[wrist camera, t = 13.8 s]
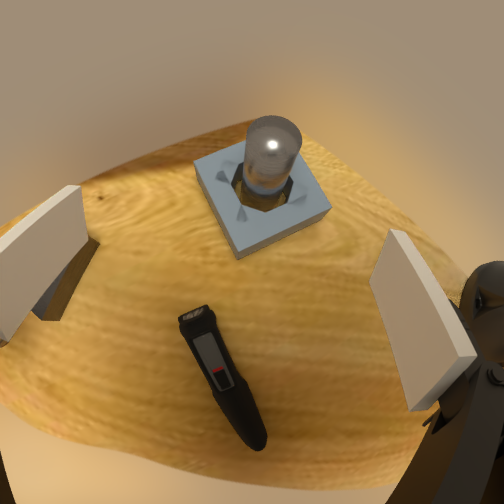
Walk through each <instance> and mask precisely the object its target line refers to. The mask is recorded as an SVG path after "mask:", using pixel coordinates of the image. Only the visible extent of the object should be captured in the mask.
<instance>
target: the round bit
mask: <svg viewBox="0 0 504 504" xmlns="http://www.w3.org/2000/svg"><path fill="white" fill-rule="evenodd" d="M301 145H302V136H301V133H300V131H299V129H298V128H297V127H296V125H295V124H293V123H292V122H291V121H289V120H288V119H285V118H283V117H279V116H272V115H271V116H264V117H260V118H258V119H256V120H255V121H253V122H252V123H251V125H250V126H249V128H248V130H247V135H246V145H245V155H244V164H243V174H242V185H241V195H240V201H241V205H244V206H247V207H250V208H253V209H256V210H259V211H262V212H265V213H266V212H268V211H270V210H273V209H275V207H276V205H277V203H278V201H279V198H280V196H281V193H282V191H283V189H284V186H285V184H286V181H287V179H288V177H289V174H290V172H291V170H292V167H293V165H294V162H295V160H296V158H297V155H298V153H299V150H300V148H301Z"/></svg>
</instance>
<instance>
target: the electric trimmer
mask: <svg viewBox="0 0 504 504" xmlns="http://www.w3.org/2000/svg"><path fill="white" fill-rule="evenodd" d="M178 321H179V323H180V325H179V328H180V332H181V334H182V335H183V337H184V338H185V340H186V342H187V344H188V345H189V347H190V349H191V351H192V353H193V355H194V357H195V359H196V360H197V362H198V364H199V366H200V368H201V370H202V372H203V374H204V375H205V377H206V379H207V381H208V383H209V385H210V388H211V390H212V393H213V396H214V398H215V400H216V401H217V403H218V405H219V406H220V408H221V409H222V411H223V413H224V414H225V416H226V417H227V419H228V420H229V422H230V423H231V424H232V426H233V427H234V429H235V430H236V432H237V433H238V435H239V436H240V437H241V439H242V440H243V441H244V442H245V444H246V445H247V446H249V447H250V448H251V449H253V450H255V451H261V450H263V449H264V448H265V446H266V442H267V433H266V429H265V427H264V424H263V422H262V419H261V417H260V414H259V412H258V409H257V407H256V404H255V401H254V399H253V396H252V394H251V391H250V389H249V387H248V384H247V382H246V381H245V380H244V379H243V378H242V377H241V376H240V374H239V373H238V371H237V370H236V368H235V366H234V363H233V361H232V359H231V357H230V355H229V353H228V351H227V349H226V347H225V344H224V342H223V340H222V337H221V335H220V333H219V330H218V328H217V324H216V316H215V314H214V312H213V311H212V310H210V309H209V307H208V305H203V306H201V307H199V308H196V309H194V310H192V311H190V312H187V313H185V314H183V315H181V316H179V317H178Z"/></svg>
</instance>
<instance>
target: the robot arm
mask: <svg viewBox="0 0 504 504" xmlns="http://www.w3.org/2000/svg"><path fill="white" fill-rule="evenodd" d="M87 241H88V235H87V228H86V222H85V215H84V208H83V200H82V191H81V186H74V185H67V186H66V187H65V188H63V189H62V190H60V191H59V192H58V193H56V194H55V195H53V196H52V197H51V198H49V199H48V200H47V201H45V202H44V203H43V204H41V205H40V206H39V207H37V208H36V209H35V210H33V211H32V212H31V213H30V214H28V215H27V216H26V217H25V218H23V219H22V220H21V221H20V222H19V223H17V224H16V225H15V226H14V227H13V228H11V229H10V230H9V231H8V232H7V233H6V234H4V235H3V236H2V237H1V238H0V338H1V339H3V340H5V341H7V342H9V341H10V339H11V338H12V336H13V335H14V333H15V332H16V330H17V329H18V327H19V326H20V325H21V323H22V322H23V320H24V319H25V318H26V316H27V315H28V313H29V312H30V311H31V309H32V308H33V307H34V305H35V304H36V303H37V301H38V300H39V299H40V297H41V296H42V295H43V294H44V292H45V291H46V290H47V288H48V287H49V286H50V285H51V283H52V282H53V281H54V280H55V279H56V277H57V276H58V275H59V274H60V272H61V271H62V270H63V269H64V268H65V266H66V265H67V264H68V263H69V262H70V261H71V259H72V258H73V257H74V256H75V255H76V254H77V253H78V251H79V250H80V249H81V248H82V247H83V246H84V245H85V244H86V242H87ZM369 283H370V286H371V289H372V292H373V294H374V297H375V300H376V303H377V306H378V309H379V311H380V314H381V317H382V320H383V323H384V326H385V329H386V332H387V335H388V339H389V342H390V345H391V348H392V351H393V355H394V358H395V362H396V365H397V368H398V372H399V375H400V379H401V383H402V386H403V390H404V394H405V398H406V402H407V406H408V410H409V412H411V411H421V410H428V409H429V408H430V407H431V406H432V405H433V404H434V403H435V402H436V401H437V400H438V401H439V404H440V408H439V409H438V410H437V411H436V412H435V413H434V414H433V415H432V416H430V417H429V418H428V419H427V420H426V421H425V422H424V423H423V425H422V426H424V427H425V426H426V425H427V424H428V423H429V422H431V423H430V425H429V427H428V430H427V432H426V434H425V436H424V438H423V440H422V442H421V444H420V446H419V448H418V450H417V452H416V453H415V455H414V457H413V459H412V461H411V463H410V464H409V466H408V468H407V470H406V471H405V473H404V475H403V477H402V478H401V480H400V482H399V483H398V485H397V486H396V488H395V490H394V491H393V493H392V494H391V496H390V497H389V499H388V501H387V502H386V503H385V504H504V369H503V367H504V261H493V262H489V263H486V264H483V265H481V266H479V267H478V268H477V269H476V270H475V271H474V272H473V273H472V274H471V276H470V277H469V279H468V281H467V283H466V285H465V288H464V291H463V294H462V299H461V304H460V309H459V308H458V307H457V306H456V305H455V304H454V303H453V302H452V301H451V300H450V299H448V298H447V296H446V295H445V293H444V291H443V290H442V288H441V286H440V285H439V283H438V281H437V280H436V278H435V276H434V275H433V273H432V272H431V270H430V268H429V267H428V265H427V264H426V262H425V261H424V259H423V257H422V256H421V254H420V253H419V251H418V250H417V248H416V247H415V245H414V244H413V242H412V241H411V240H410V238H409V237H408V235H407V234H406V232H404V231H399V230H394V229H389V232H388V235H387V237H386V240H385V243H384V245H383V248H382V250H381V253H380V255H379V258H378V260H377V263H376V265H375V268H374V270H373V273H372V275H371V277H370V280H369ZM0 504H16V503H15V500H14V497H13V494H12V491H11V488H10V485H9V482H8V478H7V475H6V471H5V468H4V464H3V460H2V456H1V452H0Z"/></svg>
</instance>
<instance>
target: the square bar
mask: <svg viewBox="0 0 504 504" xmlns="http://www.w3.org/2000/svg"><path fill="white" fill-rule="evenodd" d="M99 245H100V244H99V243H98V242H97V241H95V240H94V239H92V238H91V237H89V236H88V241H87V242H86V244H85V245H84V246H83V247H82V248H81V249H80V250H79V251H78V253H77V254H76V255H75V256H74V257H73V258H72V259H71V261H70V262H69V263H68V264H67V265H66V266H65V268H64V269H63V270H62V271H61V272H60V274H59V275H58V276H57V277H56V279H55V280H54V281H53V282H52V283H51V285H50V286H49V287H48V288H47V290H46V291H45V292H44V294H43V295H42V296H41V297H40V299H39V300H38V301H37V303H36V304H35V305H34V307H33V308H32V309H31V311H32V312H33V313H34V314H35V315H36V316H37V317H38V318H39V319H41V320H44V321H60V319H61V317H62V315H63V312H64V310H65V308H66V306H67V304H68V302H69V300H70V298H71V296H72V294H73V292H74V290H75V288H76V286H77V284H78V283H79V281H80V279H81V277H82V275H83V273H84V271H85V270H86V268H87V266H88V264H89V262H90V261H91V259H92V257H93V255H94V253H95V252H96V250H97V248H98V247H99Z"/></svg>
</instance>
